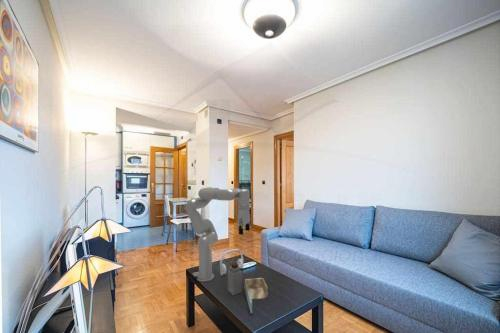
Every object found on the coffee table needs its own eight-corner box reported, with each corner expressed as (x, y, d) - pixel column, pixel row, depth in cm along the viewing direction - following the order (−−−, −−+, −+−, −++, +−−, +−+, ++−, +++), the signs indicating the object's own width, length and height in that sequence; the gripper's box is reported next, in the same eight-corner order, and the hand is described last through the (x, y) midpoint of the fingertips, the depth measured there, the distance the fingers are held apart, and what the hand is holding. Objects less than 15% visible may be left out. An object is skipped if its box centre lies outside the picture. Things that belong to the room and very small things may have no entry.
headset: (222, 278, 160) (222, 253, 161) (218, 274, 166) (218, 251, 167) (245, 270, 172) (244, 248, 172) (240, 267, 178) (240, 245, 178)
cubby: (247, 300, 132) (247, 289, 133) (244, 289, 145) (244, 279, 145) (267, 298, 135) (267, 287, 135) (263, 287, 147) (263, 277, 147)
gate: (247, 299, 132) (247, 289, 132) (248, 299, 132) (248, 289, 132) (250, 313, 119) (250, 302, 119) (252, 313, 119) (252, 302, 120)
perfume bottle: (242, 292, 142) (241, 264, 142) (233, 295, 138) (233, 267, 138) (236, 287, 147) (236, 260, 147) (227, 290, 143) (227, 263, 144)
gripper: (244, 205, 158) (245, 228, 157) (233, 208, 142) (233, 235, 142) (254, 205, 154) (254, 229, 154) (243, 209, 139) (243, 236, 138)
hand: (244, 232), depth 148 cm, fingers open, 9 cm apart
